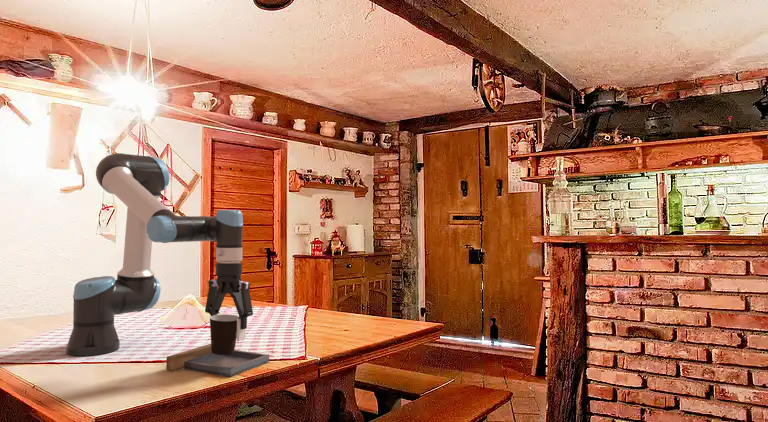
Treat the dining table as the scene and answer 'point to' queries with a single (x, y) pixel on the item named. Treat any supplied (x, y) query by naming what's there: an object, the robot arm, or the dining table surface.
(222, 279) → the robot arm
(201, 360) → the tray
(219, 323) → the coffee mug
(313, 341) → the dining table surface
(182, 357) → the brown long thin block
